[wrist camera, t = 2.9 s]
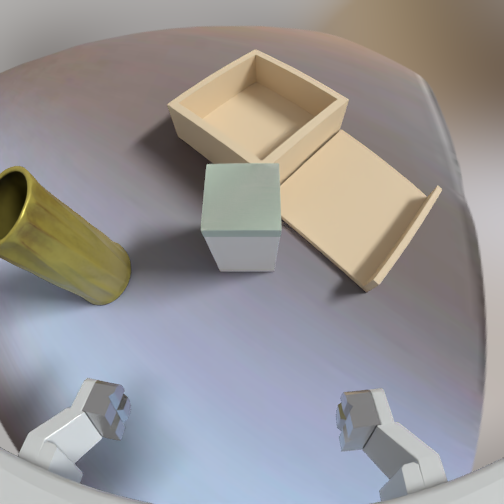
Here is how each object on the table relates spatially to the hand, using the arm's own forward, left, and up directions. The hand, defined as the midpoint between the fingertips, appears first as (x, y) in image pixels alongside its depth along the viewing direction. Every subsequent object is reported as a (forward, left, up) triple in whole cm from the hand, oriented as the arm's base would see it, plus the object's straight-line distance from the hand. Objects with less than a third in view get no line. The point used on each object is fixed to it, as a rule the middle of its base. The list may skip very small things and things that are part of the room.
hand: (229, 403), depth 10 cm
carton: (-7, +8, -14) cm, 18 cm away
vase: (-15, -3, -14) cm, 21 cm away
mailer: (-9, +18, -14) cm, 24 cm away
